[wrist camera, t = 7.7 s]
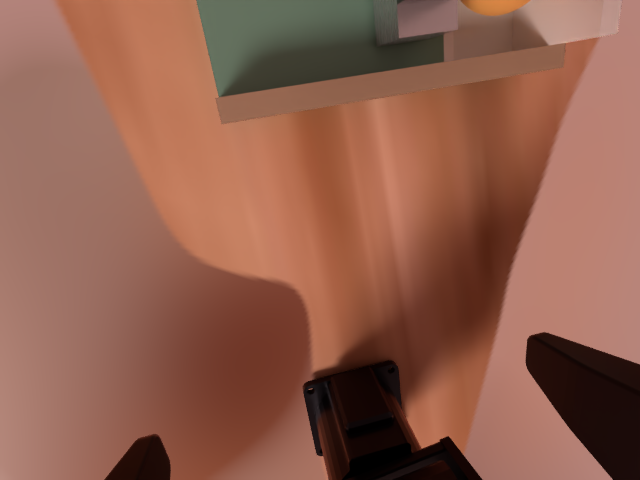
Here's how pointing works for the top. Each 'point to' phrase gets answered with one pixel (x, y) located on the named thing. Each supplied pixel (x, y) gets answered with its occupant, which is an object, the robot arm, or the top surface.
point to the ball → (494, 6)
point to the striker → (413, 20)
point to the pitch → (376, 50)
